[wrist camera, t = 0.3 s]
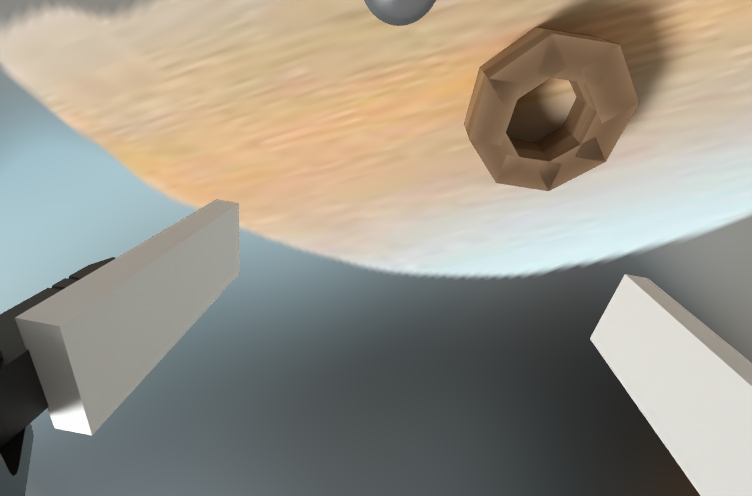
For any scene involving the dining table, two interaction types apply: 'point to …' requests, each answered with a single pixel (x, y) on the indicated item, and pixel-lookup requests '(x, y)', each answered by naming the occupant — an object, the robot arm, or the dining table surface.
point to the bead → (584, 123)
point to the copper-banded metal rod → (399, 10)
